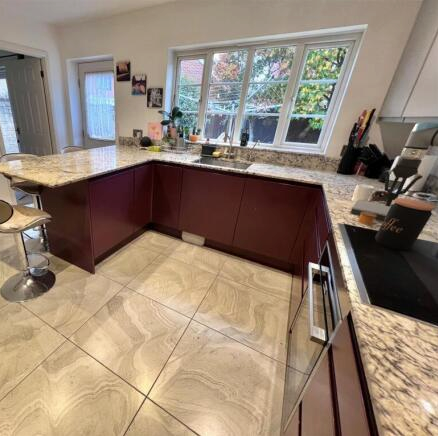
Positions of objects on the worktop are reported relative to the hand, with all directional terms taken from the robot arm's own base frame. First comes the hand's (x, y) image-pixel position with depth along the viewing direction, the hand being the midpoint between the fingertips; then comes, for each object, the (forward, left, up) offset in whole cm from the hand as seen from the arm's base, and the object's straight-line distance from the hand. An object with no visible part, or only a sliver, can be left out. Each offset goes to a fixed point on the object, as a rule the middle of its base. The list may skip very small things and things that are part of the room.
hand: (387, 205), depth 117 cm
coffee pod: (-14, +14, -6) cm, 20 cm away
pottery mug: (+28, -12, -7) cm, 32 cm away
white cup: (+24, 0, -7) cm, 25 cm away
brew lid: (+2, +3, -3) cm, 5 cm away
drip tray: (+2, +4, -6) cm, 8 cm away
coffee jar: (-34, +14, -7) cm, 37 cm away
